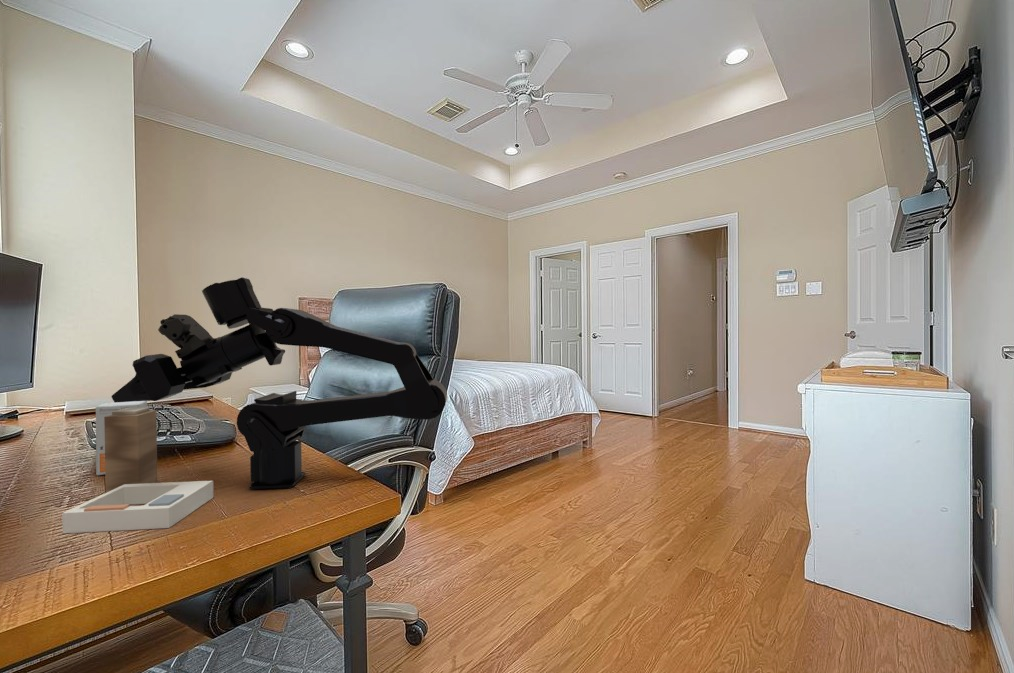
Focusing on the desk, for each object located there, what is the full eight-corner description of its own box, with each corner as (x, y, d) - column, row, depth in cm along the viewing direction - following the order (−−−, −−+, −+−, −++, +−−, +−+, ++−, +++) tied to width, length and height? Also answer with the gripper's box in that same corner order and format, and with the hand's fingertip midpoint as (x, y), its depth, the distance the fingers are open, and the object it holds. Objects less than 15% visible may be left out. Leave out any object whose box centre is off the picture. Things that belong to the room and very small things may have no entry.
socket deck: (213, 497, 64) (213, 478, 64) (169, 527, 55) (168, 505, 54) (124, 501, 63) (124, 482, 63) (62, 533, 53) (62, 510, 53)
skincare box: (95, 476, 74) (93, 406, 74) (106, 469, 78) (105, 402, 78) (140, 471, 76) (138, 403, 76) (148, 464, 80) (147, 400, 80)
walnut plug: (157, 485, 70) (156, 406, 70) (139, 495, 66) (137, 411, 65) (126, 486, 69) (124, 407, 69) (105, 497, 65) (104, 412, 65)
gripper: (237, 307, 78) (150, 344, 76) (172, 303, 60) (56, 351, 58) (265, 363, 79) (180, 400, 77) (211, 376, 61) (98, 425, 59)
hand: (135, 394), depth 68 cm, fingers open, 9 cm apart
